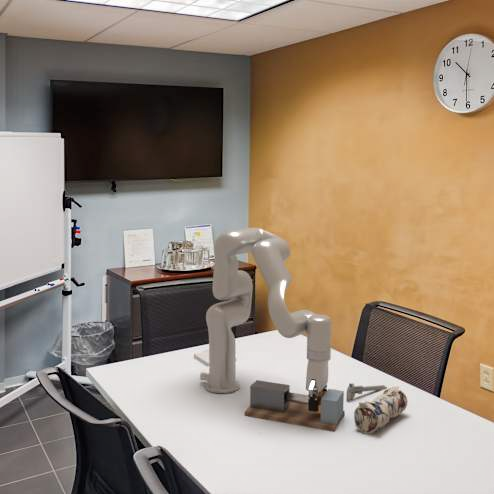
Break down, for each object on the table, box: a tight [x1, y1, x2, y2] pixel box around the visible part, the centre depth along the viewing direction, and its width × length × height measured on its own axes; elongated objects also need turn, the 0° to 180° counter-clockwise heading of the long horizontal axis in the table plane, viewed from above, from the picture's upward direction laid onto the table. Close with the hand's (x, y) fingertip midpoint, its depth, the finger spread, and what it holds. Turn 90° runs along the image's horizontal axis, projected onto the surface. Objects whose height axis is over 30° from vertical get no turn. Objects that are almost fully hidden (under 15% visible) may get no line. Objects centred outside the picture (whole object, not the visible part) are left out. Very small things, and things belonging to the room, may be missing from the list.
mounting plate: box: [193, 349, 237, 368], centre depth 259 cm, size 18×13×2 cm
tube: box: [285, 391, 326, 414], centre depth 202 cm, size 18×4×6 cm, turn 67°
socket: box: [320, 388, 345, 424], centre depth 199 cm, size 5×9×8 cm, turn 157°
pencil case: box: [353, 386, 408, 435], centre depth 198 cm, size 22×8×10 cm, turn 140°
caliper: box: [346, 382, 388, 402], centre depth 221 cm, size 21×1×6 cm, turn 129°
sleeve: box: [249, 379, 291, 413], centre depth 207 cm, size 12×6×7 cm, turn 67°
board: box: [244, 402, 346, 432], centre depth 204 cm, size 30×13×2 cm, turn 67°
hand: (317, 405), depth 200 cm, fingers open, 9 cm apart
